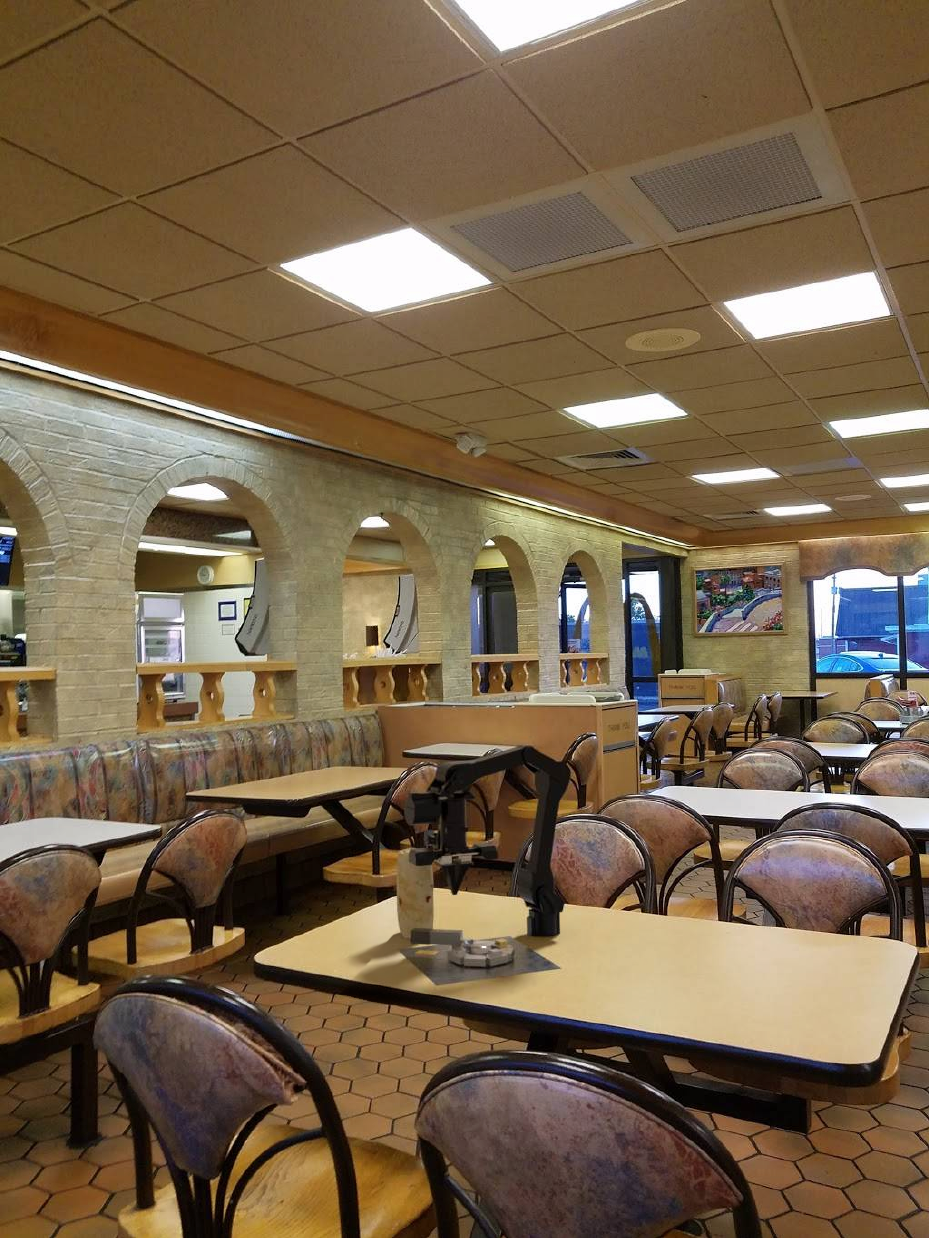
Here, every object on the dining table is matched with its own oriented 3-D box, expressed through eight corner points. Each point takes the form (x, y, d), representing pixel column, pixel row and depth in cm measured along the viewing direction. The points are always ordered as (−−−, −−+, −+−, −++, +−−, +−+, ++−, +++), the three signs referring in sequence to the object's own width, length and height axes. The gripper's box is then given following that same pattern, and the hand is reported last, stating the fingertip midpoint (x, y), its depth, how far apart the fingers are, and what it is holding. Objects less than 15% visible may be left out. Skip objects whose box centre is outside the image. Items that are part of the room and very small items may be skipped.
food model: (441, 938, 219) (439, 848, 220) (422, 945, 214) (421, 853, 215) (407, 932, 225) (406, 844, 226) (388, 939, 219) (387, 849, 220)
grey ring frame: (517, 948, 205) (517, 924, 206) (507, 967, 192) (506, 941, 193) (420, 944, 210) (420, 921, 210) (404, 962, 197) (403, 937, 197)
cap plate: (510, 940, 216) (509, 924, 217) (561, 973, 192) (561, 955, 192) (397, 954, 207) (397, 938, 208) (436, 990, 183) (436, 972, 183)
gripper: (479, 813, 221) (481, 883, 220) (400, 819, 215) (401, 891, 214) (498, 820, 211) (499, 893, 210) (416, 826, 204) (417, 902, 203)
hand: (454, 894), depth 209 cm, fingers closed
